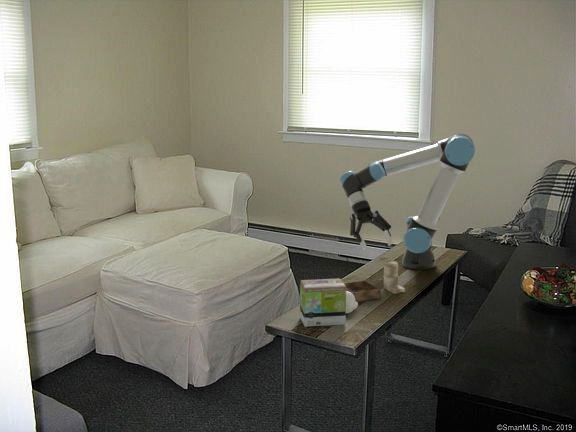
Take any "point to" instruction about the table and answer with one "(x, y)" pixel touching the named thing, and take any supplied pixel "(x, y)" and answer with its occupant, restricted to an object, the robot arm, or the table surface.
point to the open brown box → (363, 290)
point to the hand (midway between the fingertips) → (378, 246)
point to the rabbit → (350, 302)
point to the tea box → (322, 302)
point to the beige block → (392, 278)
